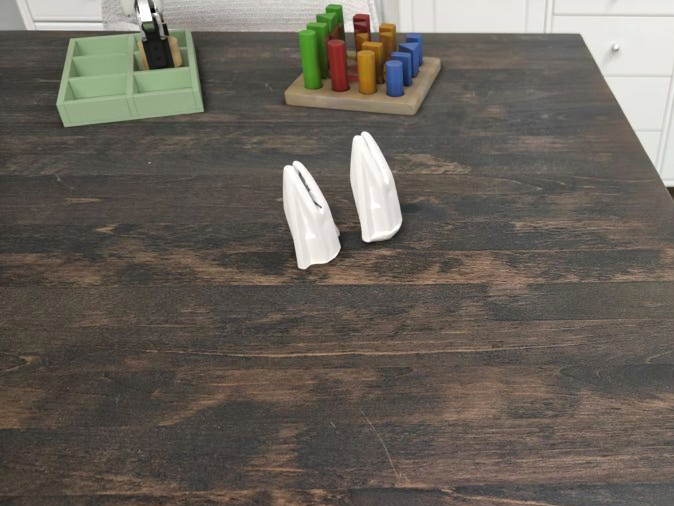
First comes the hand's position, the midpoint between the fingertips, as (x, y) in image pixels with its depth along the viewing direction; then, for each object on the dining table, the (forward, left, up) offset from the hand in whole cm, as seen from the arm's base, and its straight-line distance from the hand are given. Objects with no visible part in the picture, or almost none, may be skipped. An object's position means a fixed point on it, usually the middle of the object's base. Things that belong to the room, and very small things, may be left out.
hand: (161, 61), depth 101 cm
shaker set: (+16, -48, -3) cm, 51 cm away
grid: (-4, 0, -3) cm, 5 cm away
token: (0, 0, 0) cm, 0 cm away
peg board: (+26, -9, -3) cm, 28 cm away
